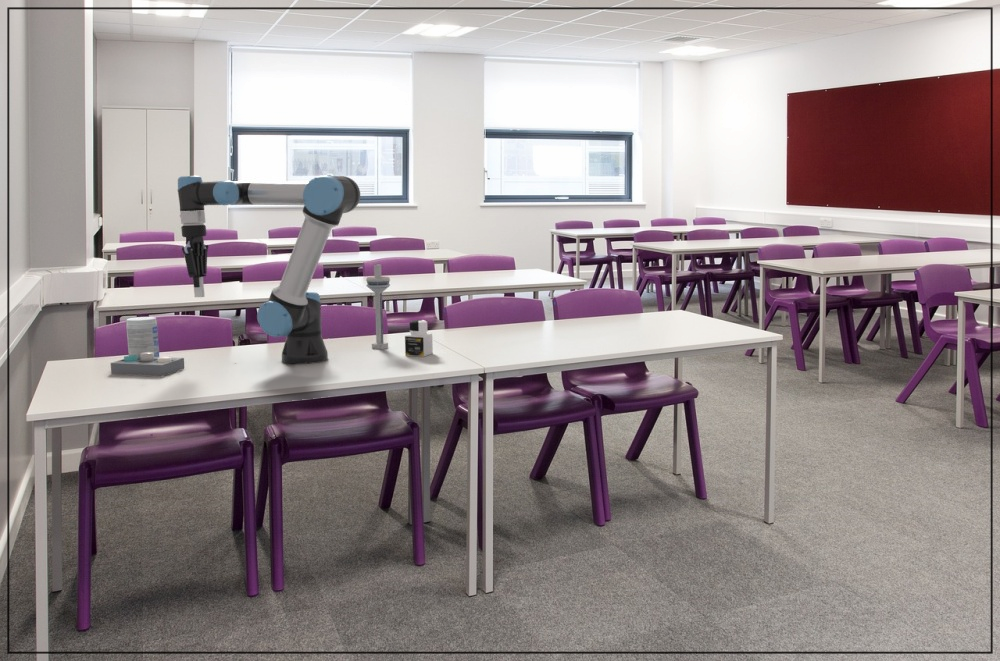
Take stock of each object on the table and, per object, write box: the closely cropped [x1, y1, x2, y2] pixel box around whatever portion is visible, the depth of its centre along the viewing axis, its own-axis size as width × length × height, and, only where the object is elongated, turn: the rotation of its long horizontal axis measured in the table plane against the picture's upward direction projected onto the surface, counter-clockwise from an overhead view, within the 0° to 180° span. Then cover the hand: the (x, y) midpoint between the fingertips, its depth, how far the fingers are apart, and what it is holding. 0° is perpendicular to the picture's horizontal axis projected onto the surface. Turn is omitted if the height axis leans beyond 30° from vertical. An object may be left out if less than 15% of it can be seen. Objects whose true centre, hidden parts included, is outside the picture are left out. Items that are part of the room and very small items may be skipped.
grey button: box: [140, 352, 154, 362], centre depth 281 cm, size 4×4×3 cm
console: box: [110, 356, 185, 377], centre depth 282 cm, size 18×12×4 cm, turn 77°
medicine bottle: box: [404, 319, 434, 358], centre depth 306 cm, size 7×7×12 cm
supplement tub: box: [125, 316, 160, 357], centre depth 297 cm, size 10×10×15 cm
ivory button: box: [158, 356, 171, 363], centre depth 280 cm, size 4×4×3 cm
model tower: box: [365, 264, 391, 350], centre depth 318 cm, size 8×8×30 cm
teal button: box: [123, 355, 138, 362], centre depth 283 cm, size 4×4×3 cm
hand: (199, 296), depth 291 cm, fingers closed
